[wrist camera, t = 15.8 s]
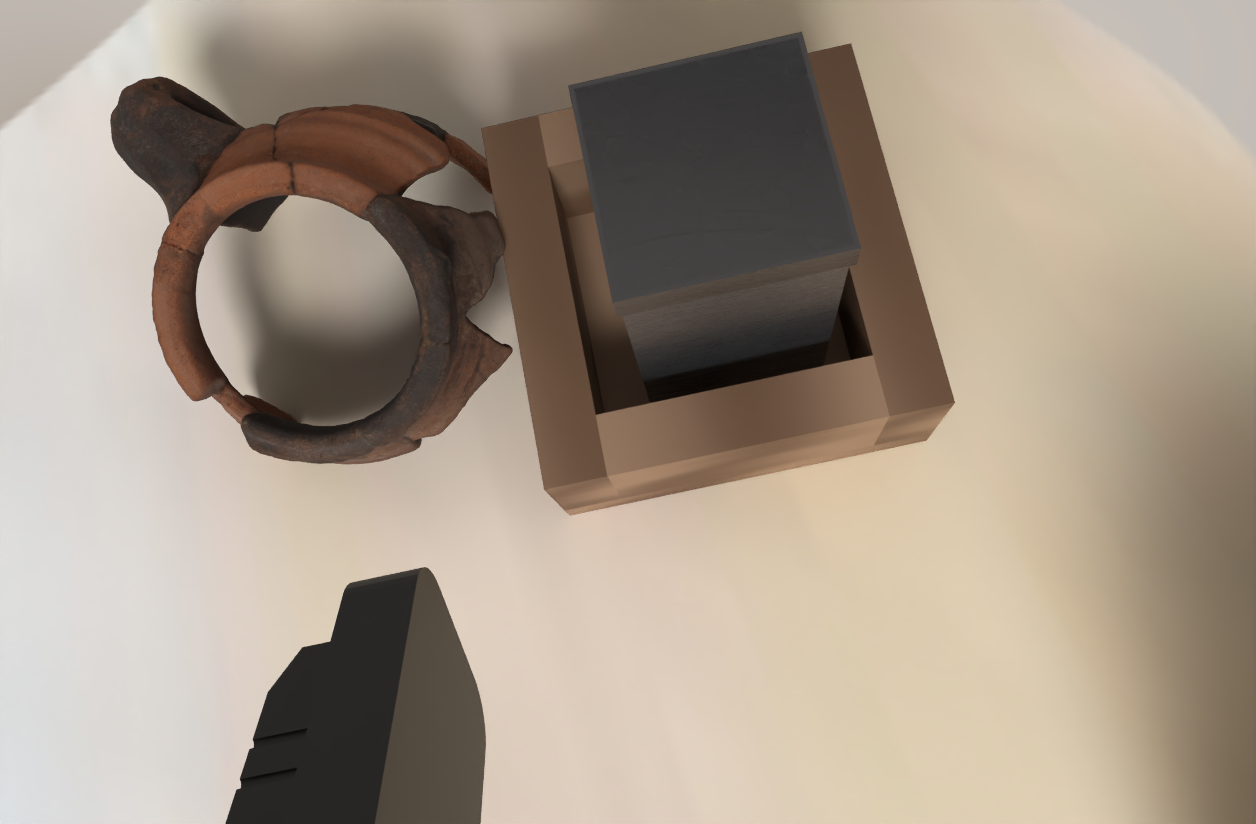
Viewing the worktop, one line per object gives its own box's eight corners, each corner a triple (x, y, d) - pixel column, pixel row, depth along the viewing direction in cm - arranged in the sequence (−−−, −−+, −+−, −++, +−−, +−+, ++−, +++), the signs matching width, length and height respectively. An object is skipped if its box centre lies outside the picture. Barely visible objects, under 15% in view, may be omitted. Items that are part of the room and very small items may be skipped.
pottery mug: (614, 213, 31) (559, 248, 23) (462, 466, 34) (368, 575, 26) (261, -12, 30) (82, -54, 22) (137, 264, 33) (-60, 313, 25)
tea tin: (647, 409, 28) (612, 302, 20) (613, 245, 29) (568, 85, 21) (827, 371, 27) (861, 248, 20) (784, 207, 29) (801, 31, 21)
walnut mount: (569, 515, 28) (544, 489, 24) (511, 195, 31) (481, 128, 27) (926, 440, 28) (955, 402, 24) (837, 121, 30) (850, 43, 26)
